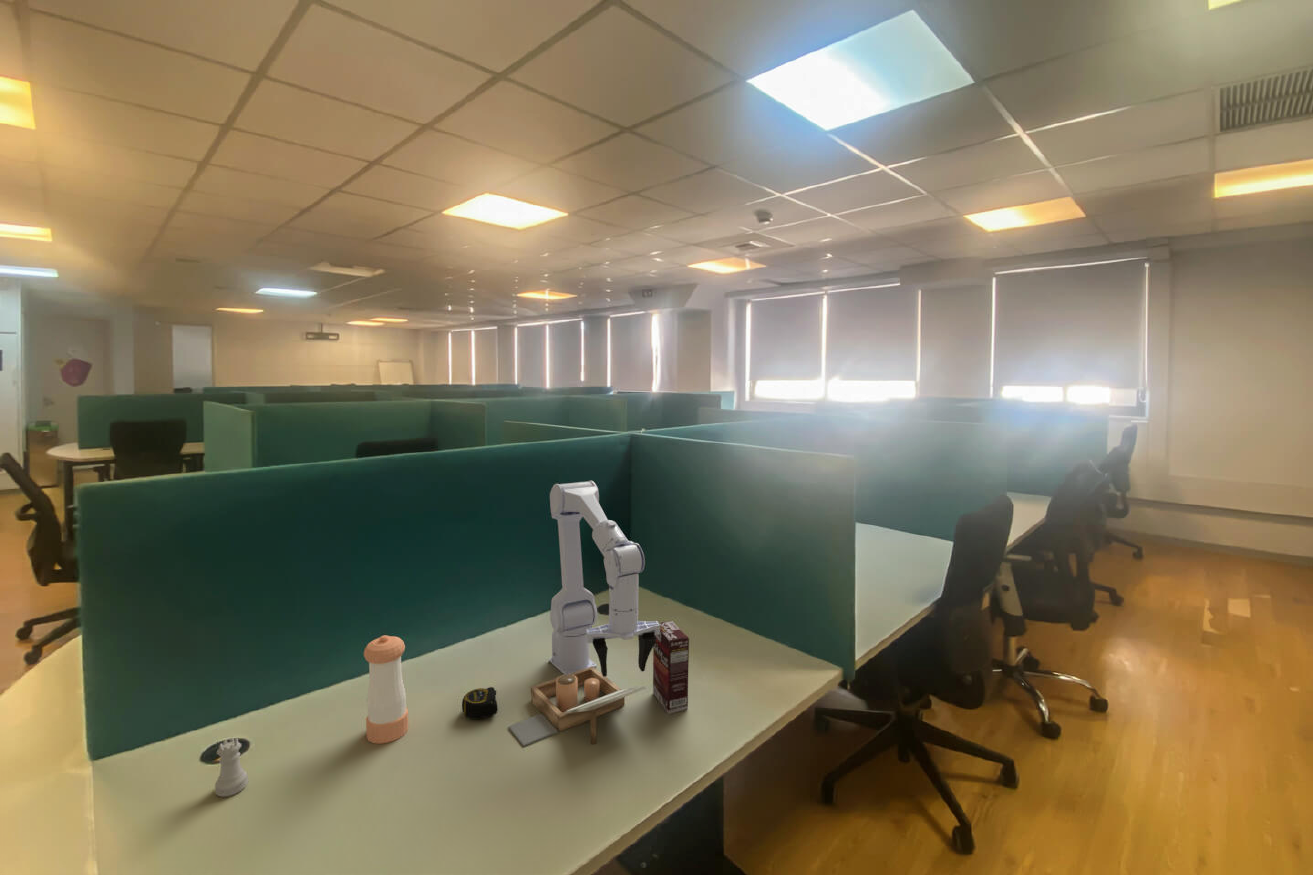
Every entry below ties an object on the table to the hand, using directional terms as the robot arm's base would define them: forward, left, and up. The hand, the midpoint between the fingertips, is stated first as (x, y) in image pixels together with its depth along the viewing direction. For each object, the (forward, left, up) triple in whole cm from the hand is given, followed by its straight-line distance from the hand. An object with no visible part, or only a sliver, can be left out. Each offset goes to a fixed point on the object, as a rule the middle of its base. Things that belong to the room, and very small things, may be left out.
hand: (622, 671), depth 113 cm
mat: (-7, -16, -10) cm, 20 cm away
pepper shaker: (-23, -39, -10) cm, 46 cm away
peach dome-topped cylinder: (-10, -7, -10) cm, 16 cm away
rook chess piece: (-22, -63, -10) cm, 67 cm away
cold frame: (-6, -5, -10) cm, 12 cm away
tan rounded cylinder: (-10, -1, -10) cm, 14 cm away
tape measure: (-19, -21, -10) cm, 30 cm away
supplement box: (+1, +11, -10) cm, 15 cm away
